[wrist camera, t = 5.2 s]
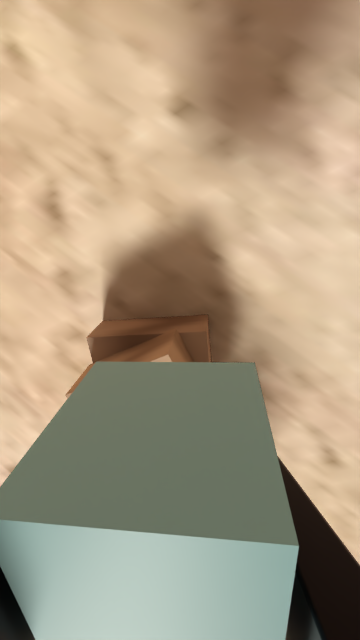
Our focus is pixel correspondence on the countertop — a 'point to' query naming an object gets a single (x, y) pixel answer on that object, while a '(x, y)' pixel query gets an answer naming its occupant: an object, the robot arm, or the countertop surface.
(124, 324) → the slab lower
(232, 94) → the countertop surface
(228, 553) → the teal cube
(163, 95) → the countertop surface
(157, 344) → the slab upper
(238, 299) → the countertop surface
